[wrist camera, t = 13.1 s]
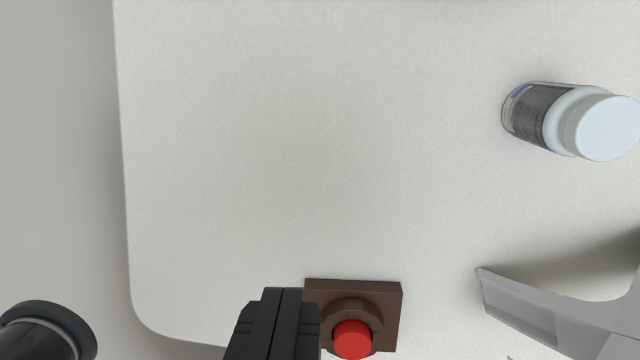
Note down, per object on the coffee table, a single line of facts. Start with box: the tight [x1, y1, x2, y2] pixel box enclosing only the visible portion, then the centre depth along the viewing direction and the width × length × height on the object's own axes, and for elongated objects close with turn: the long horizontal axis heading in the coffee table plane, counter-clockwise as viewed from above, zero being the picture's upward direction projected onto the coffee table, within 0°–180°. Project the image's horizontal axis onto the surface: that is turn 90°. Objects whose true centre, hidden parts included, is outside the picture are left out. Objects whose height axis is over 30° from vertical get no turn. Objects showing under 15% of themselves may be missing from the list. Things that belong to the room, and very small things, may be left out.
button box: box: [304, 278, 403, 359], centre depth 33 cm, size 10×8×4 cm
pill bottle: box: [502, 82, 640, 162], centre depth 23 cm, size 5×5×8 cm
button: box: [334, 319, 372, 360], centre depth 31 cm, size 4×4×2 cm
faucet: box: [476, 265, 640, 360], centre depth 27 cm, size 6×16×20 cm
